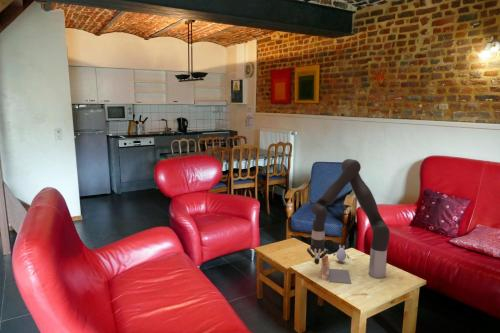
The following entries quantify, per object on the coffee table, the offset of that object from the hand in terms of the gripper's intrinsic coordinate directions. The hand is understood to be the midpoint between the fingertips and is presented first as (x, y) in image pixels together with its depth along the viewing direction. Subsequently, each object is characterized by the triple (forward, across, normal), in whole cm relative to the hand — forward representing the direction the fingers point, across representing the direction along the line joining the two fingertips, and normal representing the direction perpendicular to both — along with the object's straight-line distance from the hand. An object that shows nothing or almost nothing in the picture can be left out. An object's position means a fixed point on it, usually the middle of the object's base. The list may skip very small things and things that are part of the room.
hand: (316, 263), depth 216 cm
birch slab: (+7, -5, 0) cm, 9 cm away
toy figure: (+7, -16, -19) cm, 26 cm away
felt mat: (+7, -14, 0) cm, 15 cm away
